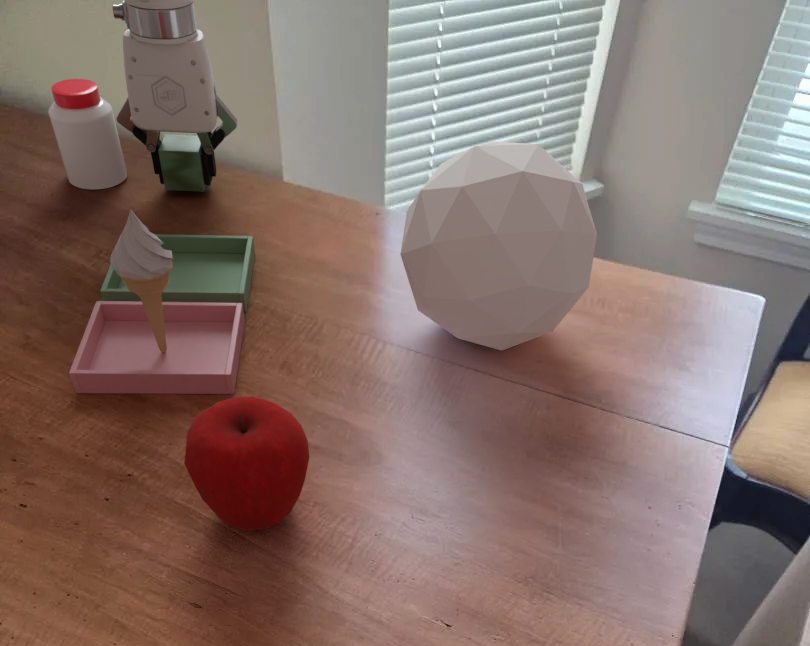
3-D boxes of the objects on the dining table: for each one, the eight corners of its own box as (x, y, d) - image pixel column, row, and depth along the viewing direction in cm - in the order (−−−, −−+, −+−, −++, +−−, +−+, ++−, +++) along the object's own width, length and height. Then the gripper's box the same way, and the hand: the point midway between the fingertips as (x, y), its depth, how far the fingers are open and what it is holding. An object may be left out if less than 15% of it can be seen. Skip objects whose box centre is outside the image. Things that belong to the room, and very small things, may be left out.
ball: (448, 355, 91) (438, 176, 86) (617, 341, 82) (615, 142, 77) (374, 360, 74) (356, 139, 70) (575, 343, 66) (570, 90, 61)
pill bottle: (78, 194, 98) (52, 103, 90) (60, 170, 102) (33, 81, 94) (136, 182, 101) (115, 92, 93) (115, 159, 105) (94, 71, 97)
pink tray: (75, 393, 73) (68, 373, 71) (102, 320, 81) (96, 300, 79) (234, 394, 74) (230, 374, 72) (244, 322, 82) (242, 302, 80)
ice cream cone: (149, 375, 75) (112, 230, 63) (126, 346, 77) (87, 203, 66) (200, 357, 77) (174, 214, 65) (176, 330, 80) (147, 188, 68)
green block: (165, 190, 98) (158, 150, 94) (171, 173, 101) (164, 133, 97) (204, 191, 98) (198, 152, 94) (208, 174, 101) (203, 135, 98)
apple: (332, 529, 63) (328, 432, 55) (224, 570, 60) (202, 474, 52) (284, 456, 69) (274, 358, 60) (183, 491, 65) (157, 392, 57)
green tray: (105, 310, 82) (99, 291, 80) (126, 252, 90) (121, 233, 88) (246, 312, 83) (243, 293, 81) (255, 254, 91) (253, 235, 89)
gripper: (77, 25, 82) (115, 191, 96) (234, 34, 84) (249, 196, 98) (92, 4, 87) (126, 165, 101) (240, 13, 89) (254, 170, 102)
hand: (186, 178), depth 99 cm, fingers closed on green block, 5 cm apart
